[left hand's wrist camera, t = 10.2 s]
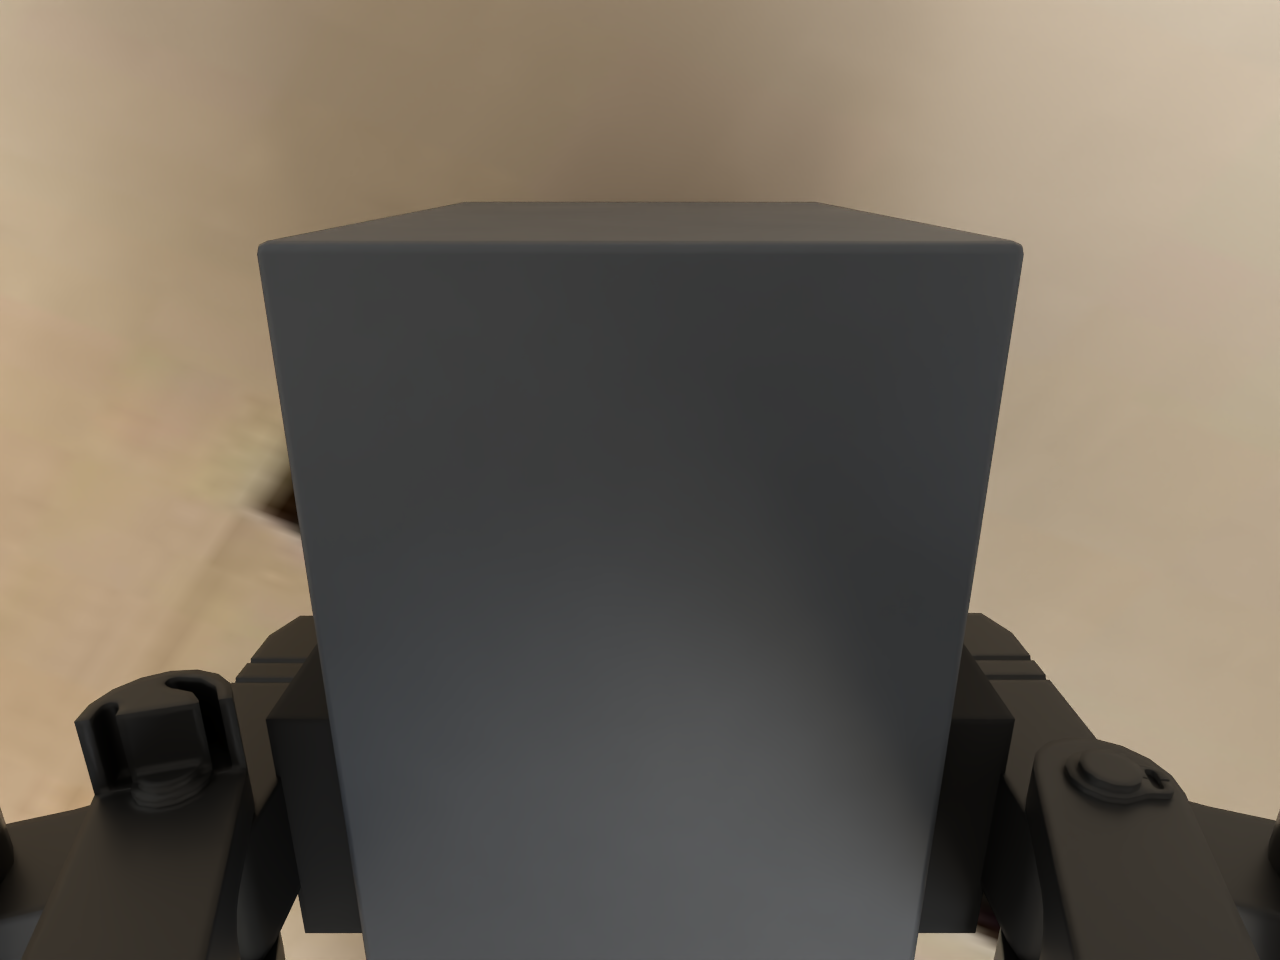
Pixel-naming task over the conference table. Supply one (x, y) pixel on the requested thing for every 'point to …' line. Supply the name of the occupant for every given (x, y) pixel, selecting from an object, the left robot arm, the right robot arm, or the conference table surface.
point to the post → (640, 564)
